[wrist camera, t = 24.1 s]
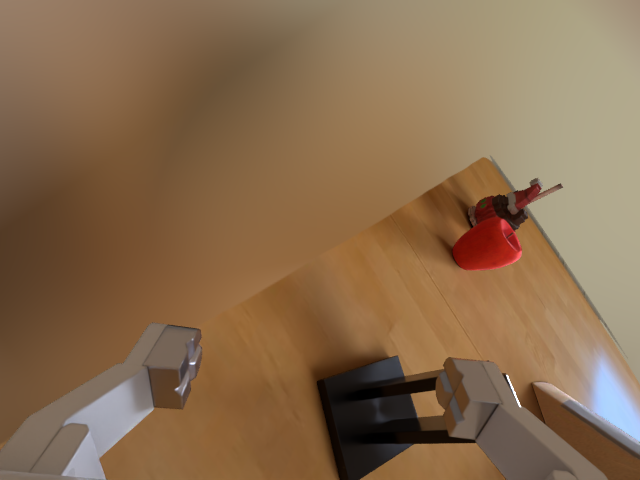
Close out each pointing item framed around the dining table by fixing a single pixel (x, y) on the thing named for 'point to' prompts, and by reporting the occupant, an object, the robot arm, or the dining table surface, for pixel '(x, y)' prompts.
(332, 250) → the dining table surface
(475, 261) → the apple
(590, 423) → the sandwich container
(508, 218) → the cake
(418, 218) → the dining table surface
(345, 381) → the bracket
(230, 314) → the dining table surface
